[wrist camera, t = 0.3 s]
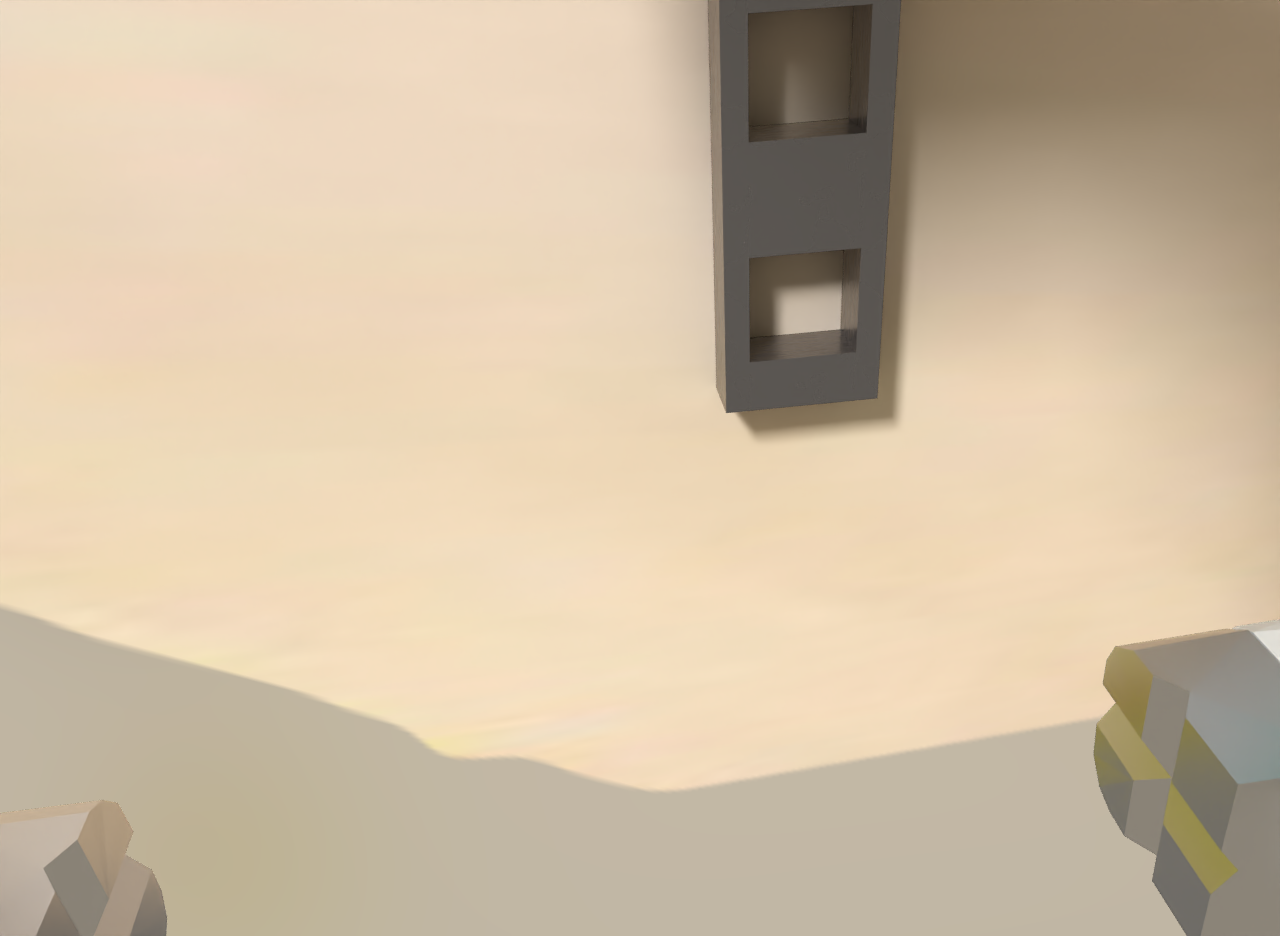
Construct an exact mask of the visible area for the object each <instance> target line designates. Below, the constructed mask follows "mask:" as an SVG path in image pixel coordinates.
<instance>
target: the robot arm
mask: <svg viewBox="0 0 1280 936" xmlns="http://www.w3.org/2000/svg"><path fill="white" fill-rule="evenodd" d="M1103 685H1104V686H1105V688H1106V689H1107V691H1108V692H1109V694H1110V695H1111V696H1112V698H1113V699H1114V701H1115V702H1116V703H1115V704H1114V705H1113V707H1112V708H1111V709H1110V710H1109V711H1108V712H1107V713H1106V714H1105V715H1104V716H1103V718H1102V719H1101V720H1100V721H1099V722H1098V723H1097V725H1096V736H1095V745H1094V759H1095V765H1096V771H1097V776H1098V781H1099V787H1100V789H1101V792H1102V794H1103V797H1104V799H1105V801H1106V804H1107V806H1108V809H1109V811H1110V813H1111V815H1112V816H1113V818H1114V819H1115V821H1116V823H1117V825H1118V826H1119V828H1120V830H1121V831H1122V833H1123V835H1124V836H1125V837H1127V838H1129V839H1130V840H1132V841H1134V842H1135V843H1137V844H1139V845H1140V846H1142V847H1144V848H1146V849H1147V850H1149V851H1151V852H1152V853H1154V854H1156V855H1157V857H1156V863H1155V868H1154V873H1153V879H1152V881H1153V883H1154V884H1155V886H1156V887H1157V889H1158V891H1159V892H1160V894H1161V895H1162V897H1163V898H1164V900H1165V902H1166V903H1167V905H1168V907H1169V908H1170V910H1171V911H1172V913H1173V914H1174V916H1175V918H1176V919H1177V921H1178V922H1179V924H1180V925H1181V927H1182V929H1183V930H1184V932H1185V933H1186V935H1187V936H1280V619H1278V620H1272V621H1266V622H1260V623H1254V624H1248V625H1242V626H1236V627H1234V628H1233V629H1221V630H1215V631H1208V632H1202V633H1196V634H1190V635H1183V636H1177V637H1171V638H1165V639H1158V640H1152V641H1146V642H1140V643H1133V644H1127V645H1121V646H1115V648H1114V649H1113V651H1112V653H1111V654H1110V656H1109V657H1108V659H1107V661H1106V667H1105V673H1104V679H1103ZM132 834H133V830H132V828H131V826H130V824H129V822H128V821H127V819H126V817H125V815H124V813H123V812H122V810H121V808H120V806H119V804H118V803H116V802H110V801H105V800H98V801H90V802H83V803H75V804H67V805H60V806H51V807H44V808H35V809H27V810H20V811H12V812H4V813H0V936H166V928H167V916H166V910H165V906H164V900H163V896H162V891H161V888H160V886H159V884H158V882H157V880H156V878H155V875H154V874H153V871H152V869H150V868H148V867H146V866H145V865H143V864H141V863H139V862H138V861H136V860H134V859H132V858H131V857H129V856H127V855H125V853H126V851H127V848H128V845H129V842H130V840H131V837H132Z"/></svg>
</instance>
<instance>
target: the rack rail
mask: <svg viewBox="0 0 1280 936" xmlns="http://www.w3.org/2000/svg"><path fill="white" fill-rule="evenodd" d="M841 6H853V28H852V53H851V79H850V104H849V119H838V120H825V121H813V122H801V123H789V124H776V125H764V126H752V127H749V126H748V13H760V12H774V11H787V10H801V9H814V8H827V7H841ZM900 7H901V0H708V22H709V68H710V113H711V158H712V204H713V249H714V295H715V340H716V385H717V391H718V393H719V396H720V398H721V401H722V403H723V406H724V409H725V411H726V413H732V412H742V411H752V410H762V409H772V408H782V407H793V406H803V405H813V404H823V403H833V402H843V401H854V400H864V399H874V398H877V394H878V377H879V360H880V343H881V326H882V310H883V293H884V276H885V259H886V242H887V226H888V209H889V192H890V175H891V159H892V142H893V125H894V108H895V91H896V75H897V58H898V41H899V24H900ZM835 250H844V256H843V281H842V306H841V330H831V331H821V332H810V333H799V334H789V335H778V336H767V337H757V338H750V319H749V258H756V257H768V256H779V255H790V254H801V253H813V252H824V251H835Z"/></svg>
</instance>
